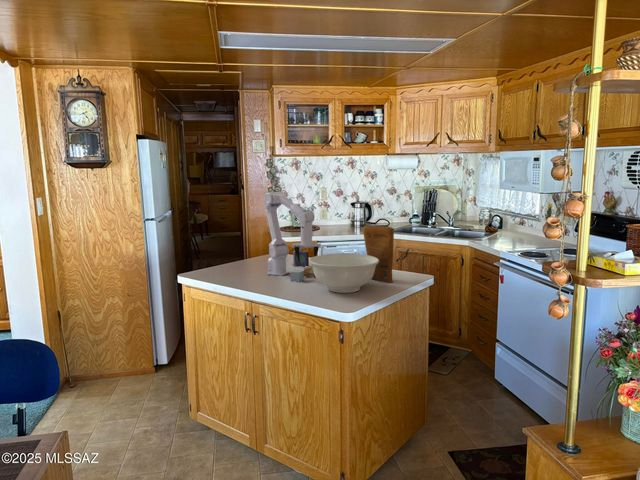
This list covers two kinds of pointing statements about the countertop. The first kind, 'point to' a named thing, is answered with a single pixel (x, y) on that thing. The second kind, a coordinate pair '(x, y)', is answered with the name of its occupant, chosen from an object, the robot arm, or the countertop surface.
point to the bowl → (344, 271)
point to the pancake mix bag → (380, 250)
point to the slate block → (297, 275)
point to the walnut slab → (309, 274)
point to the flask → (301, 258)
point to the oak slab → (308, 269)
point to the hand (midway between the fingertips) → (306, 261)
